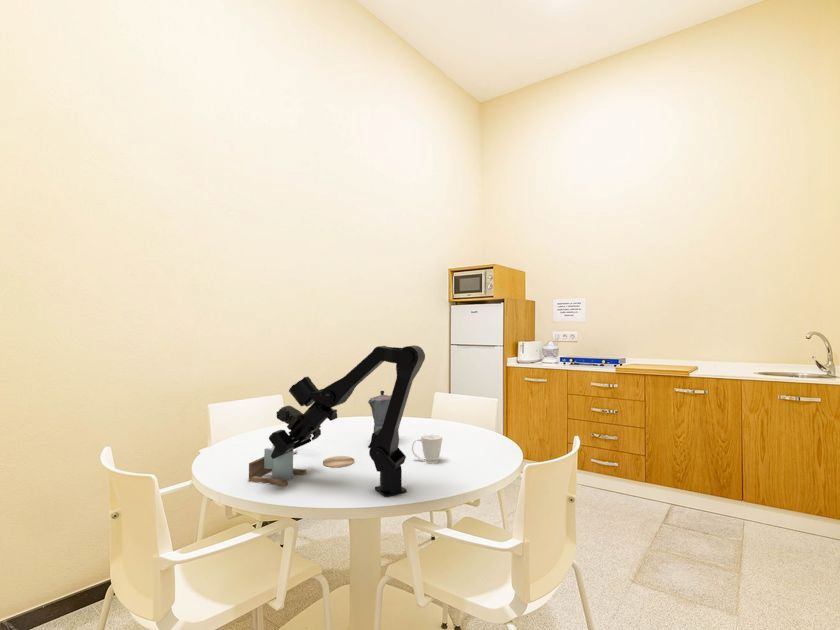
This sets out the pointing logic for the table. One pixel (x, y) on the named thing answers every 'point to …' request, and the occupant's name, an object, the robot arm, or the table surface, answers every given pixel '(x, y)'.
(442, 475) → the table surface
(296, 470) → the dock
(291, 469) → the jug
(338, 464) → the coaster
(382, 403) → the moka pot
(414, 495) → the table surface
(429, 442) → the cup
